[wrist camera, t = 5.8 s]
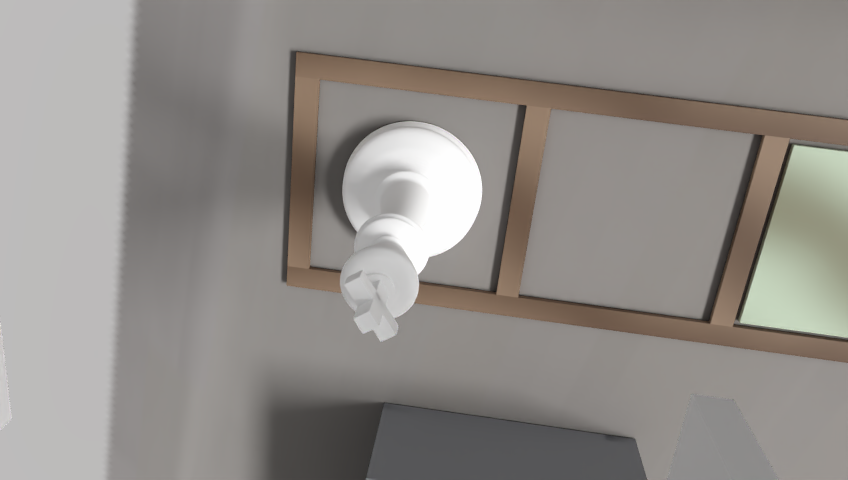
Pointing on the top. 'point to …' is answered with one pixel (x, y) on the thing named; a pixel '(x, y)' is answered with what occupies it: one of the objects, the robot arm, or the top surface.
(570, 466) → the housing
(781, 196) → the brown wooden flat frame
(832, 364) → the top surface
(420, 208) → the chess piece
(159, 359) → the top surface
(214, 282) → the top surface
